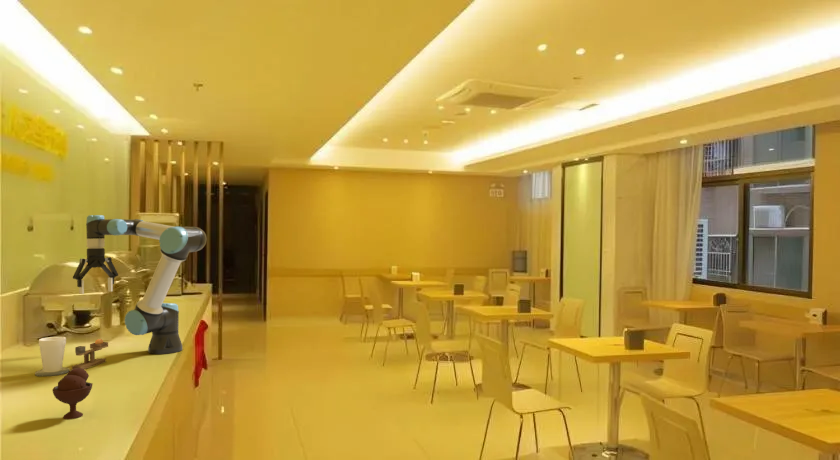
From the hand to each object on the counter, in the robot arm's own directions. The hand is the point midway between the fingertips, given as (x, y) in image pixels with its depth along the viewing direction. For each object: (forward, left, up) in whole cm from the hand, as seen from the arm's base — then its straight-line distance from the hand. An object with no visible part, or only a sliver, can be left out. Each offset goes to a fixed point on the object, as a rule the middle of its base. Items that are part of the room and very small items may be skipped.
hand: (96, 292), depth 282 cm
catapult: (-16, +24, -28) cm, 41 cm away
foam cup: (-10, +38, -28) cm, 48 cm away
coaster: (-10, +38, -28) cm, 48 cm away
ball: (-16, +18, -20) cm, 31 cm away
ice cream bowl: (-60, +86, -29) cm, 109 cm away
